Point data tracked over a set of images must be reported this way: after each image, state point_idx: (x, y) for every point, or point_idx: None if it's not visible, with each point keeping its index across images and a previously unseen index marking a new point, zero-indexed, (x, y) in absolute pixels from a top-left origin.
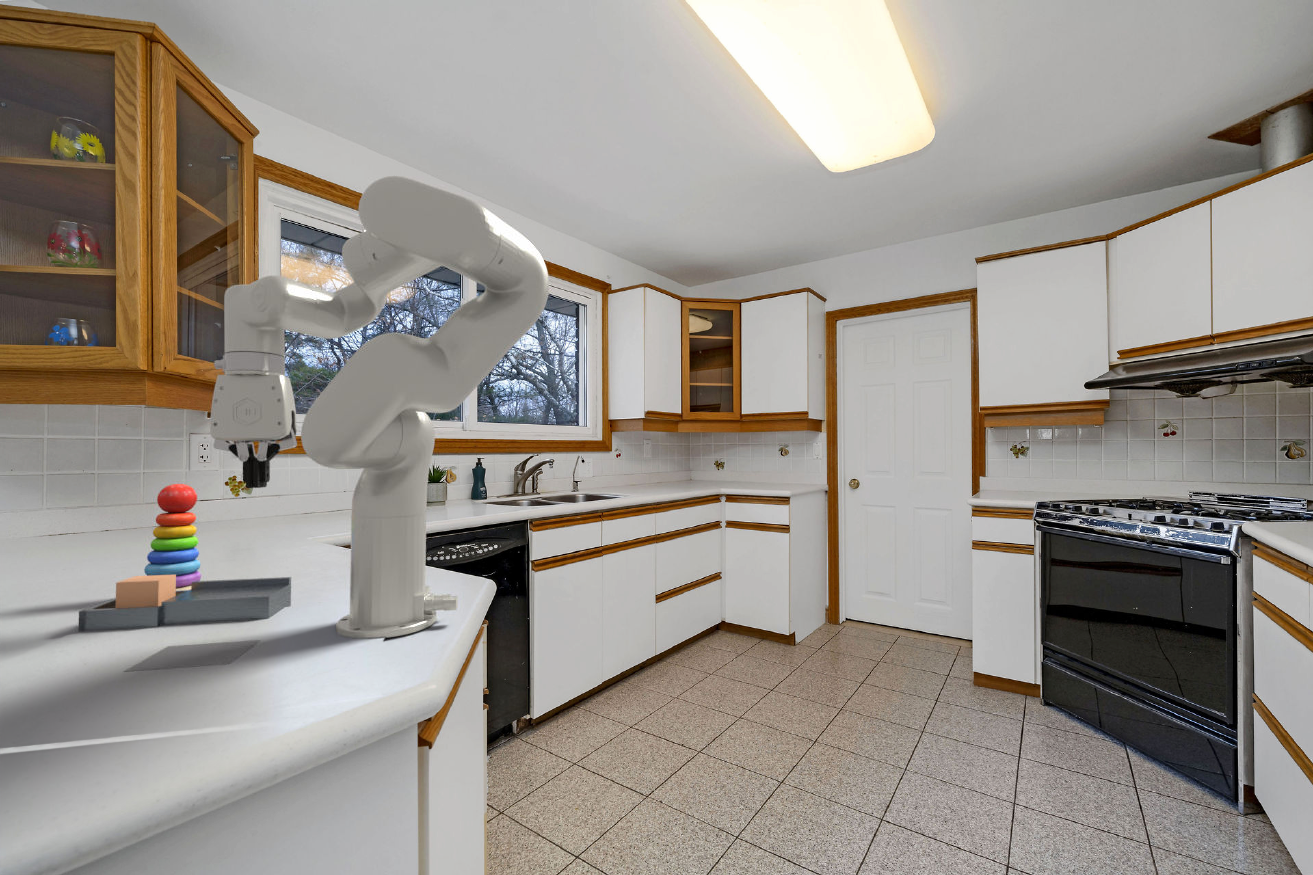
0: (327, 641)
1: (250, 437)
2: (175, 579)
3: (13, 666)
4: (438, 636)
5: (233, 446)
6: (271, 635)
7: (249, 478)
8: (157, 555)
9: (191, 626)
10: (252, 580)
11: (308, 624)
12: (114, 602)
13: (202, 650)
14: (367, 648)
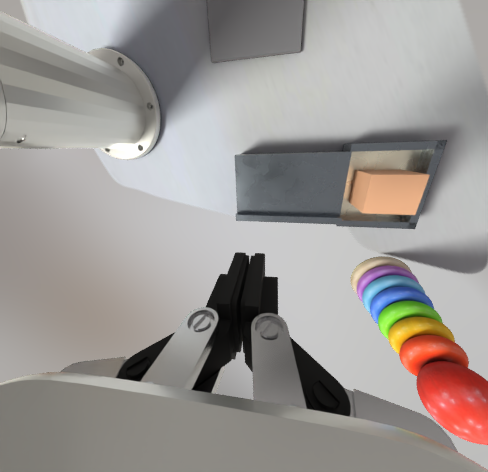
0: (150, 58)
1: (175, 404)
2: (360, 210)
3: (457, 2)
4: None
5: (324, 404)
6: (215, 94)
7: (252, 265)
8: (417, 293)
9: (311, 150)
10: (274, 215)
11: (196, 132)
12: None
13: (255, 24)
14: (101, 22)
